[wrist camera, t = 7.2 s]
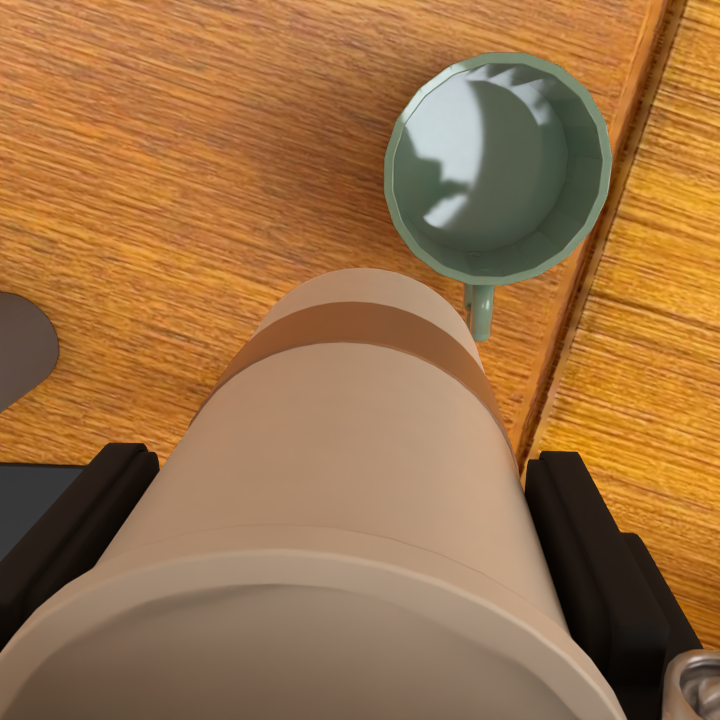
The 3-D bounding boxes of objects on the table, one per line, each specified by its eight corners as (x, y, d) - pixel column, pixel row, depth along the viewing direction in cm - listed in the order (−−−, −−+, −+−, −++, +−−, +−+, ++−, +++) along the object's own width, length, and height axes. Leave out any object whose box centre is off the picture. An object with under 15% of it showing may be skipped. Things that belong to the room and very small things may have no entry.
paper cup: (246, 489, 18) (25, 1022, 8) (228, 256, 16) (-125, 540, 5) (484, 495, 18) (609, 1066, 7) (498, 257, 16) (714, 563, 5)
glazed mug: (389, 64, 32) (386, 51, 26) (583, 65, 31) (627, 53, 25) (383, 309, 36) (380, 348, 30) (554, 313, 36) (586, 353, 29)
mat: (-39, 615, 45) (-43, 619, 45) (-77, 459, 41) (-82, 462, 41) (133, 624, 45) (131, 628, 44) (112, 466, 40) (109, 470, 40)
